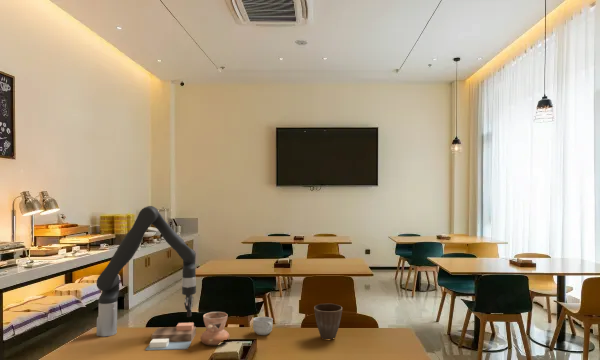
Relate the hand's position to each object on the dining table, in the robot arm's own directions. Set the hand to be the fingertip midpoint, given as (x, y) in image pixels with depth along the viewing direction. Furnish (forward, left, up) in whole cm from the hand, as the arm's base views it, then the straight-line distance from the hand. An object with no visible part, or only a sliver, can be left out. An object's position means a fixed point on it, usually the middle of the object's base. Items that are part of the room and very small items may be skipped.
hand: (189, 316), depth 225 cm
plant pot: (+76, -16, -8) cm, 78 cm away
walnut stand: (-5, -11, -8) cm, 15 cm away
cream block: (-10, -23, -5) cm, 25 cm away
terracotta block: (0, -9, -4) cm, 10 cm away
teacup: (+42, -8, -8) cm, 43 cm away
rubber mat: (-5, -22, -8) cm, 24 cm away
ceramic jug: (+17, -18, -8) cm, 27 cm away
